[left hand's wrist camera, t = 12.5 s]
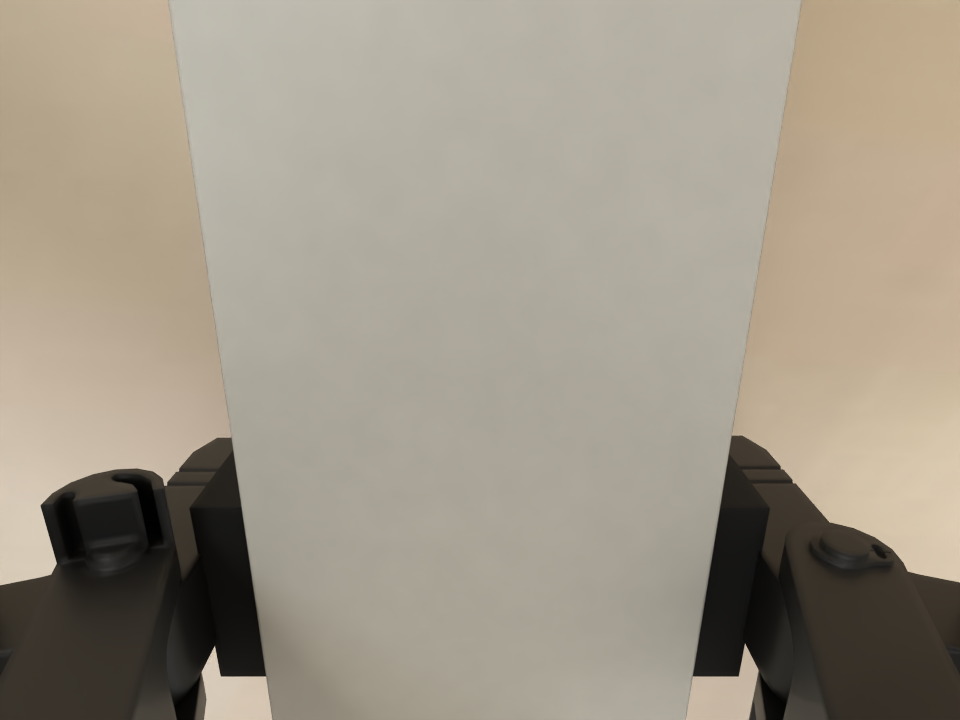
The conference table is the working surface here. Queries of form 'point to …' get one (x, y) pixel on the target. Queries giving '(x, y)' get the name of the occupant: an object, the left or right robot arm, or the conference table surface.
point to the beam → (482, 334)
